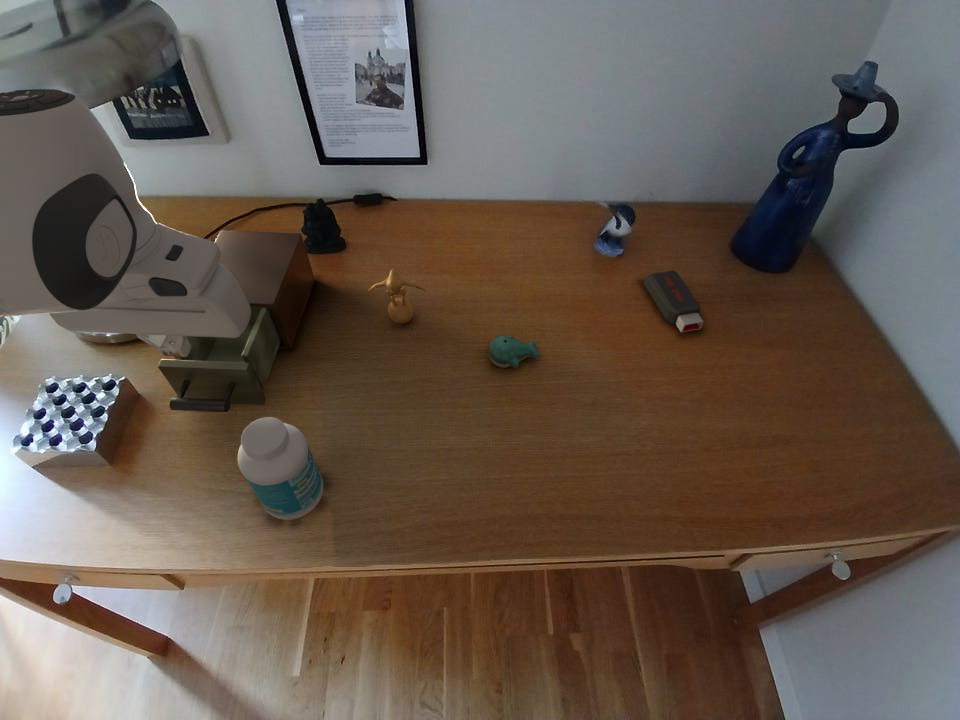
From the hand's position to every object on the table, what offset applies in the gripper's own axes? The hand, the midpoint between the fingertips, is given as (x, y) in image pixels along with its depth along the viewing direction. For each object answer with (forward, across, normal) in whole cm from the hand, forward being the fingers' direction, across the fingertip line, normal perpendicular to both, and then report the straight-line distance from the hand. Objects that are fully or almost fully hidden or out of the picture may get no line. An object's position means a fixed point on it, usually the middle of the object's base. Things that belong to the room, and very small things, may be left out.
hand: (176, 352), depth 65 cm
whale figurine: (+14, +40, +13) cm, 44 cm away
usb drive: (+14, +66, +25) cm, 72 cm away
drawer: (+13, 0, +7) cm, 15 cm away
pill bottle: (+14, +13, -10) cm, 22 cm away
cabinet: (+14, 0, +21) cm, 25 cm away
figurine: (+14, +23, +19) cm, 33 cm away
